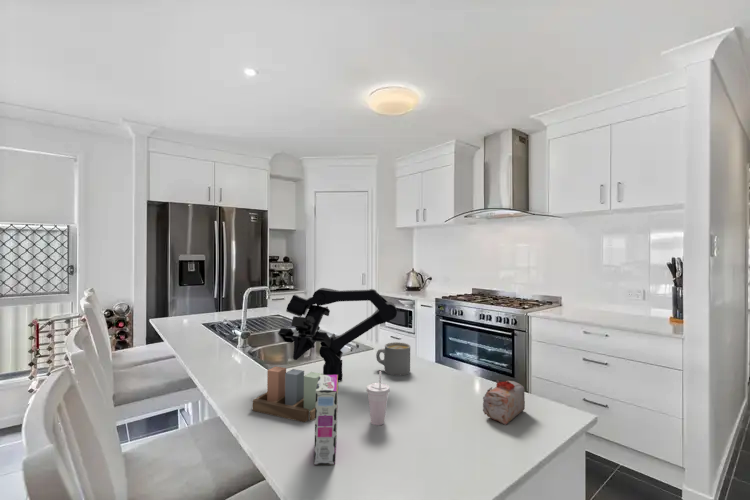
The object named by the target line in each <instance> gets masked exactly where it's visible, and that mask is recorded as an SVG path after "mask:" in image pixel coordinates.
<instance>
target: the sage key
mask: <svg viewBox="0 0 750 500" xmlns="http://www.w3.org/2000/svg"><path fill="white" fill-rule="evenodd" d="M319 375H323V373H320V372H315V371H310V372H308V373H306V375H305V374H304V408H305V409H309V412H310V411H311V410H312V409H314V408H315V406H316V387H317V383H318V378H319Z"/></svg>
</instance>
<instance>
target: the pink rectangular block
mask: <svg viewBox="0 0 750 500" xmlns="http://www.w3.org/2000/svg"><path fill="white" fill-rule="evenodd" d="M285 373H287V367H283V366H282V367H281V366H274V367H272V368H269V369H267V372H266V374H267V379H266V380H267V384H266V387H267V389H266V392H267V401H271V402H275V401H276V400H278V399H279V398H281V397H283V396H284V395H285Z"/></svg>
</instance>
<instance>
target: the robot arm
mask: <svg viewBox="0 0 750 500" xmlns="http://www.w3.org/2000/svg"><path fill="white" fill-rule="evenodd" d="M363 301H369V302H370V303H371V304H372V305H374V307H375V308H376V310H375V312H373V313H372V314H371V315H370V316H368V317H367V318H365V319H363V320H362V321H360V322H359V323H357V324H356V325H354V326H353V327H351V328H350V329H348V330H346V331H345V332H343V333H341V334H340V335H336V334H335V333H333V334H331V335H330V336H329V335H328V333H327V332H326V331H319V330H320V329H321V327H320V324H321V321H322V319H323V317H324V316H327V317H329V316H330V312H331V310H330V309H329V307H328V306H325V305H330V304H333V303H339V302H363ZM286 313H289V314H292V315H293V317H292V321H291V323H290V326H291V327H295V331H293V330H292V328H291V327H289V328H287V327H281V328H280V329H279V331H278V333H277V334H278V336H279V337H280V338H281V340H282V341H283V342H284V343H287V344H288V343H289V344H293V354H292V355H293V356H292V359H293V360H294V361H297V360H298V359H299V358H300V357H302V356H303V355H304V354H306V353H307V352H308V351H310V350H311V349H314V348H315V343H316V342H320V345H321V346H320V347H319V351H318V352H319V356H320V357H321V359H323V360H324V364H323V366H322V374H323V375H338V382H339V381H340V382H342V381H343V359H342V357H343V354H344V352H343V351H342V350H343V348H344V347H345V346H346V345H348V344H349V343H351V342H353V341H354V340H356V339H357V338H359V337H361V336H362V335H364V334H365V333H367V332H368V331H370V330H372V329H373V328H375V327H376V326H379V325H382V324H385V323H388V322H390V321H392V320H394V319H395V318H396V317H397V314H398V311H397V307H396V304H395V303H393V302H391V301H387V300H386V299H385V297H383V296H382V295H381V294H379V293H378V292H377V290H376V289H374V288H371V289H370V288H369V289H350V290H348V289H347V290H339V289H333V288H325V287H321V288H319V289H317V290H315V291H314V292H313V294H312V296H311V297H309V298H307V299H306V298H304V297H301V296H299V295H297V294H293V295H292V297H291V298H290V301H289V303H288V304H287V306H286ZM303 316H305V317H303Z"/></svg>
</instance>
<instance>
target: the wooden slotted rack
mask: <svg viewBox="0 0 750 500" xmlns="http://www.w3.org/2000/svg"><path fill="white" fill-rule="evenodd" d="M252 411H253V412H256V413H260V414H265V415H270V416H274V417H279V418H282V419H283V418H284V419H288V420H293V421H296V422H301V423H307V422H308V421H311V422H312V421H315V408H314V409H312V410H311V411H309V409H305V408H304V398H303V399H302V400H300V401H299V402H297V403H296V404H294V405H293V406H291V405H286V404H285V395H284V396H283V397H281V398H279V399H278V400H276V401H275V402H271V401H267V391H266V392H265V393H263V394H261V395H260V396H257V397H256V398H254V399H253V400H252Z"/></svg>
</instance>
